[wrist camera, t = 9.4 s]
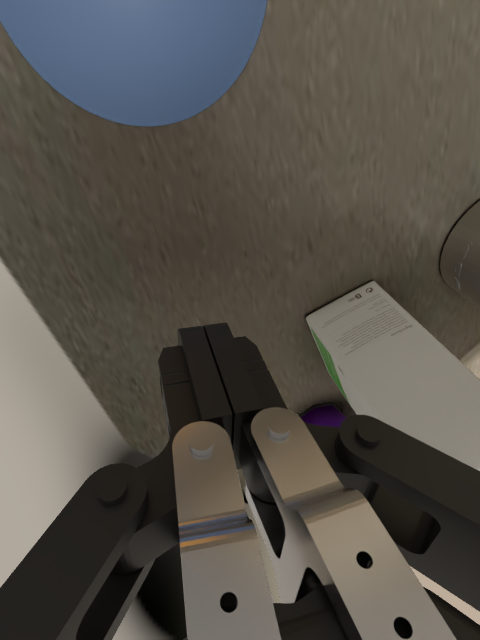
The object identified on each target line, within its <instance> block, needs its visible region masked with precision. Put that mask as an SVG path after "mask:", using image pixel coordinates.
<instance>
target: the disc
mask: <svg viewBox="0 0 480 640" xmlns="http://www.w3.org/2000/svg"><path fill="white" fill-rule="evenodd" d="M266 4H267V0H0V21H1V23H2V25H3V26H4V28H5V30H6V31H7V33H8V35H9V36H10V38H11V40H12V41H13V43H14V44H15V45H16V47H17V48H18V49H19V51H20V52H21V53H22V55H23V56H24V57H25V59H26V60H27V61H28V63H29V64H30V65H31V66H32V67H33V68H34V69H35V70H36V71H37V72H38V74H39V75H40V76H41V77H42V78H43V79H44V80H45V81H47V82H48V83H49V84H50V85H51V86H52V87H53V88H54V89H55V90H57V91H58V92H59V93H60V94H62V95H63V96H65V97H66V98H67V99H69V100H70V101H72V102H73V103H74V104H76V105H78V106H80V107H81V108H83V109H85V110H87V111H89V112H90V113H92V114H95V115H97V116H100V117H102V118H105V119H107V120H110V121H114V122H118V123H122V124H127V125H134V126H160V125H167V124H172V123H175V122H179V121H182V120H185V119H187V118H190V117H192V116H194V115H196V114H198V113H200V112H201V111H203V110H205V109H206V108H208V107H209V106H211V105H212V104H213V103H214V102H216V101H217V100H218V99H219V98H220V97H221V96H222V95H224V93H225V92H226V91H227V90H228V89H229V88H230V87H231V86H232V84H233V83H234V82H235V81H236V79H237V78H238V76H239V75H240V73H241V72H242V70H243V69H244V67H245V65H246V64H247V62H248V60H249V58H250V56H251V54H252V52H253V49H254V47H255V44H256V42H257V39H258V37H259V34H260V30H261V27H262V23H263V19H264V15H265V10H266Z"/></svg>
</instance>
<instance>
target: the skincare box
mask: <svg viewBox="0 0 480 640" xmlns="http://www.w3.org/2000/svg"><path fill="white" fill-rule="evenodd" d="M306 321H307V323H308V325H309V328H310V330H311V333H312V335H313V338H314V340H315V342H316V345H317V347H318V349H319V352H320V354H321V356H322V358H323V361H324V363H325V366H326V368H327V371H328V373H329V374H330V376H331V378H332V379H333V381H334V382H335V384H336V385H337V386H338V388H339V389H340V391H341V392H342V394H343V395H344V397H345V398H346V400H347V401H348V403H349V404H350V406H351V407H352V408H353V410H354V411H355V413H356V414H357V415H368V416H371V417H374V418H376V419H378V420H380V421H382V422H384V423H386V424H388V425H390V426H392V427H394V428H396V429H398V430H400V431H402V432H404V433H406V434H408V435H410V436H412V437H414V438H416V439H418V440H420V441H422V442H424V443H426V444H427V445H429V446H431V447H433V448H435V449H437V450H439V451H441V452H443V453H445V454H447V455H449V456H451V457H453V458H455V459H457V460H459V461H461V462H463V463H465V464H467V465H469V466H471V467H473V468H474V469H476V470H478V471H480V379H479V378H478V377H476V376H475V375H474V374H473V373H472V372H471V371H470V370H469V369H468V368H467V367H466V366H465V365H464V364H462V363H461V362H460V361H459V360H458V359H457V358H456V357H455V356H454V355H453V354H452V353H451V352H450V351H448V350H447V349H446V348H445V347H444V346H443V345H442V344H441V343H440V342H439V341H438V340H437V339H436V338H435V337H434V336H432V335H431V334H430V333H429V332H428V331H427V330H426V329H425V328H424V327H423V326H422V325H421V324H420V323H419V322H417V321H416V320H415V319H414V318H413V317H412V316H411V315H410V314H409V313H408V312H407V311H406V310H405V309H404V308H402V307H401V306H400V305H399V304H398V303H397V302H396V301H395V300H394V299H393V298H392V297H391V296H390V295H389V294H388V293H387V292H385V291H384V290H383V289H382V288H381V287H380V286H379V285H378V284H377V283H376V282H375V281H371V282H369V283H367V284H365V285H363V286H362V287H360V288H358V289H356V290H354V291H352V292H350V293H348V294H346V295H345V296H343V297H341V298H339V299H337V300H335V301H334V302H332V303H330V304H328V305H326V306H324V307H323V308H321V309H319V310H317V311H315V312H313V313H312V314H310V315H308V316H307V317H306Z"/></svg>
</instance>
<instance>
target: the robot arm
mask: <svg viewBox="0 0 480 640" xmlns="http://www.w3.org/2000/svg"><path fill="white" fill-rule="evenodd" d="M440 270H441V276H442V278H443V280H444V282H445V283H446V284H447V285H448V286H449V287H451V288H452V289H453V290H455V291H456V292H457V293H459V294H460V295H461V296H462V297H464V298H465V299H466V300H468V301H469V302H470V303H472V304H473V305H474V306H476V307H477V308H478V309H479V310H480V201H479V202H477V203H476V204H475V205H474V206H473V207H472V208H471V209H470V210H468V211H467V212H466V214H465V215H464V216H463V217H462V218H461V219H460V220H459V222H458V223H457V224H456V226H455V227H454V229H453V230H452V232H451V233H450V235H449V237H448V239H447V241H446V243H445V245H444V249H443V252H442V255H441V262H440ZM158 364H159V374H160V384H161V394H162V401H163V407H164V413H165V418H166V424H167V430H168V436H169V441H168V443H167V446H166V447H165V448H164V450H163V451H162V452H161V453H160V454H159V455H158V456H157V457H155V458H154V459H152V460H151V461H149V462H147V463H145V464H143V465H141V466H139V467H138V468H135V467H134V466H131V465H128V464H123V463H120V464H111V465H108V466H105V467H103V468H100V469H99V470H97V471H96V472H94V473H93V474H92V475H91V476H90V477H89V478H88V479H87V480H86V481H85V482H84V484H83V485H82V486H81V487H80V489H79V490H78V491H77V492H76V494H75V495H74V496H73V497H72V499H71V500H70V501H69V502H68V504H67V505H66V506H65V507H64V509H63V510H62V511H61V513H60V514H59V515H58V516H57V517H56V519H55V520H54V521H53V522H52V524H51V525H50V526H49V527H48V529H47V530H46V531H45V533H44V534H43V535H42V536H41V538H40V539H39V540H38V541H37V543H36V544H35V545H34V546H33V548H32V549H31V550H30V551H29V553H28V554H27V555H26V556H25V558H24V559H23V560H22V561H21V563H20V564H19V565H18V567H17V568H16V569H15V570H14V572H13V573H12V574H11V575H10V576H9V578H8V579H7V581H6V582H5V583H4V584H3V585H2V587H1V588H0V640H112V638H113V636H114V635H115V633H116V631H117V629H118V627H119V625H120V623H121V622H122V620H123V618H124V616H125V614H126V612H127V611H128V609H129V607H130V605H131V603H132V602H133V600H134V598H135V596H136V594H137V592H138V590H139V589H140V587H141V585H142V583H143V581H144V579H145V577H146V576H147V574H148V572H149V570H150V568H151V566H152V564H153V562H154V560H155V558H157V557H158V556H160V555H161V554H163V553H164V552H165V551H167V550H169V549H170V548H172V547H173V546H175V545H176V544H178V543H179V542H180V551H181V562H182V575H183V588H184V600H185V612H186V625H187V637H186V638H185V639H184V640H480V625H479V624H477V623H476V622H474V621H473V620H471V619H470V618H469V617H467V616H466V615H464V614H463V613H462V612H460V611H459V610H457V609H456V608H455V607H453V606H452V605H450V604H449V603H448V602H446V601H445V600H443V599H442V598H440V597H439V596H438V595H436V594H435V593H433V592H432V591H430V590H428V589H426V588H425V587H423V586H422V585H421V583H420V582H419V580H418V579H417V577H416V576H415V574H414V572H413V571H412V569H411V568H410V566H411V567H413V568H414V569H416V570H417V571H419V572H420V573H422V574H423V575H425V576H426V577H428V578H430V579H431V580H433V581H434V582H436V583H437V584H439V585H440V586H442V587H443V588H445V589H446V590H448V591H449V592H451V593H452V594H454V595H455V596H457V597H458V598H460V599H462V600H463V601H465V602H466V603H468V604H469V605H471V606H472V607H474V608H475V609H477V610H478V611H480V471H478V470H476V469H474V468H473V467H471V466H469V465H467V464H465V463H463V462H461V461H459V460H457V459H455V458H453V457H451V456H449V455H447V454H445V453H443V452H441V451H439V450H437V449H435V448H433V447H431V446H429V445H427V444H426V443H424V442H422V441H420V440H418V439H416V438H414V437H412V436H410V435H408V434H406V433H404V432H402V431H400V430H398V429H396V428H394V427H392V426H390V425H388V424H386V423H384V422H382V421H380V420H378V419H376V418H374V417H371V416H368V415H353V416H350V417H347V418H346V419H345V420H344V421H343V422H342V423H341V425H340V427H330V426H319V425H312V424H309V423H306V422H303V420H302V419H301V418H300V417H299V416H298V415H297V414H295V413H294V412H292V411H290V410H288V409H287V407H286V405H285V403H284V401H283V399H282V397H281V395H280V393H279V391H278V389H277V387H276V385H275V383H274V381H273V379H272V377H271V375H270V372H269V370H267V366H266V364H265V362H264V360H263V359H262V356H261V354H260V352H259V350H258V348H257V346H256V345H255V344H254V343H253V342H251V341H250V340H249V339H248V338H247V337H245V336H244V337H237V338H233V335H232V333H231V331H230V328H229V326H228V324H227V323H219V324H211V325H204V326H203V327H202V326H197V327H189V328H182V329H178V346H174V347H167V348H163V350H162V353H161V355H160V358H159V360H158ZM240 468H242V470H243V474H244V477H245V480H246V482H245V494H246V498H247V500H248V503H249V505H250V507H251V510H252V513H253V515H254V518H255V520H256V523H257V525H258V528H259V530H260V533H261V535H262V538H263V541H264V543H265V546H266V548H267V550H268V553H269V555H270V558H271V561H272V564H273V567H274V571H275V579H276V584H277V589H278V592H279V596H280V599H281V602H282V603H273V602H272V597H271V593H270V589H269V584H268V580H267V576H266V571H265V567H264V563H263V559H262V554H261V550H260V546H259V541H258V537H257V533H256V530H255V526H254V524H253V522H252V520H250V519H249V518H248V516H247V512H246V508H245V503H244V499H243V494H242V490H241V485H240V481H239V476H238V472H237V469H240ZM409 565H410V566H409Z"/></svg>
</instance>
